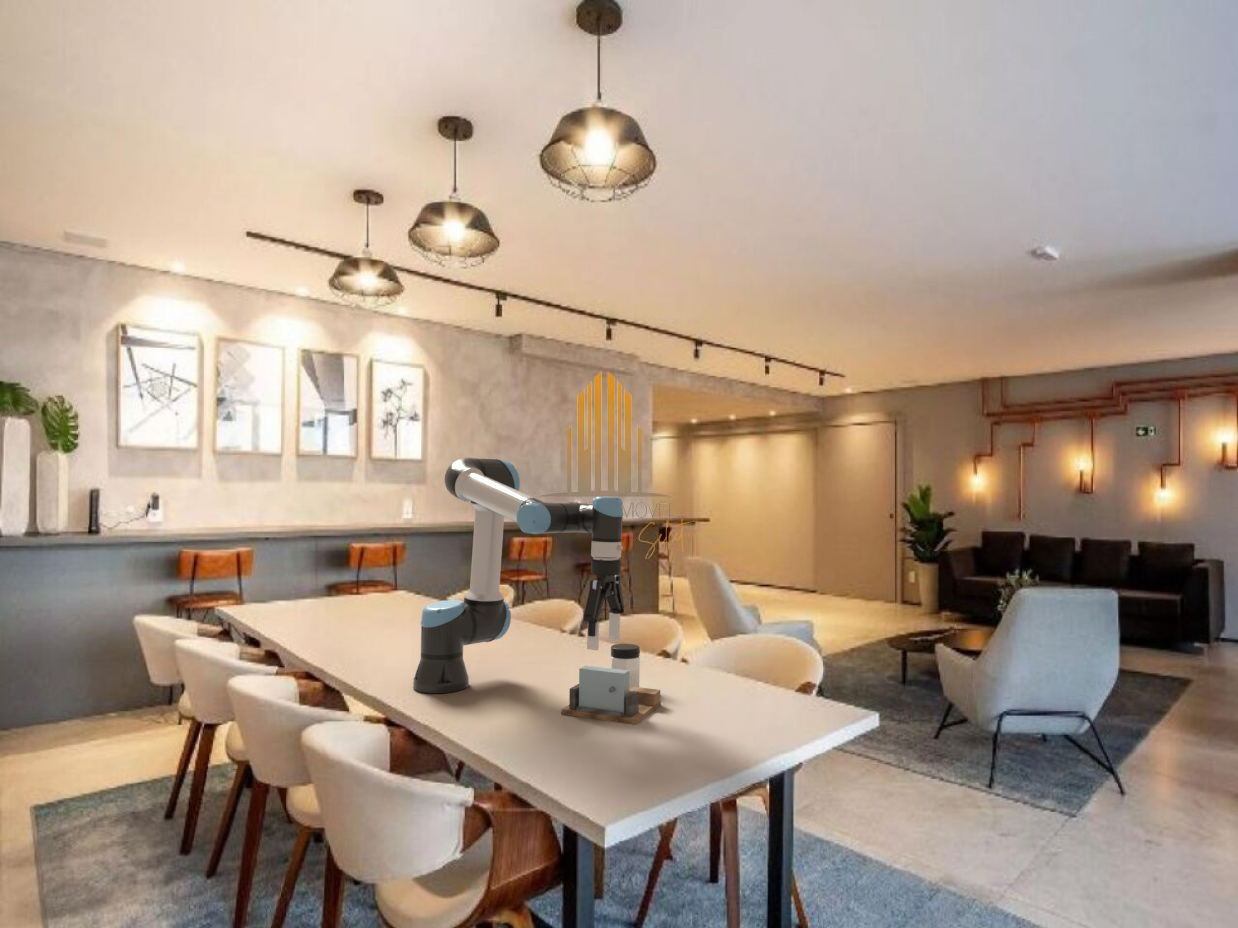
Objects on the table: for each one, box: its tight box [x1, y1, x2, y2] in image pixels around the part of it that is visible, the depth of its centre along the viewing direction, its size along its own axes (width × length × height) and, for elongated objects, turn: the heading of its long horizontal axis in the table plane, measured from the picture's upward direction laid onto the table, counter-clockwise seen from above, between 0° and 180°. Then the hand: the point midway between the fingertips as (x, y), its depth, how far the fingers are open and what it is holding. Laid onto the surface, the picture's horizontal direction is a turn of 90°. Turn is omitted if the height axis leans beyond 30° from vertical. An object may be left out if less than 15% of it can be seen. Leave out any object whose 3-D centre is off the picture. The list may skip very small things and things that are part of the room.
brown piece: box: [560, 683, 662, 726], centre depth 183 cm, size 20×18×6 cm
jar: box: [610, 643, 641, 687], centre depth 202 cm, size 9×8×12 cm
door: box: [578, 665, 629, 715], centre depth 178 cm, size 12×4×10 cm, turn 68°
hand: (603, 644), depth 179 cm, fingers open, 13 cm apart
